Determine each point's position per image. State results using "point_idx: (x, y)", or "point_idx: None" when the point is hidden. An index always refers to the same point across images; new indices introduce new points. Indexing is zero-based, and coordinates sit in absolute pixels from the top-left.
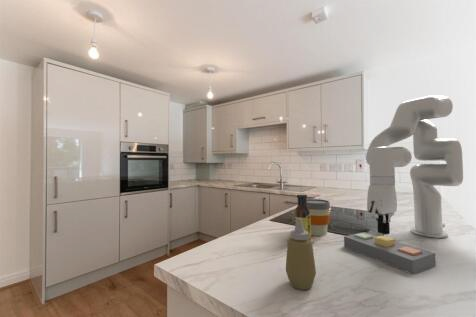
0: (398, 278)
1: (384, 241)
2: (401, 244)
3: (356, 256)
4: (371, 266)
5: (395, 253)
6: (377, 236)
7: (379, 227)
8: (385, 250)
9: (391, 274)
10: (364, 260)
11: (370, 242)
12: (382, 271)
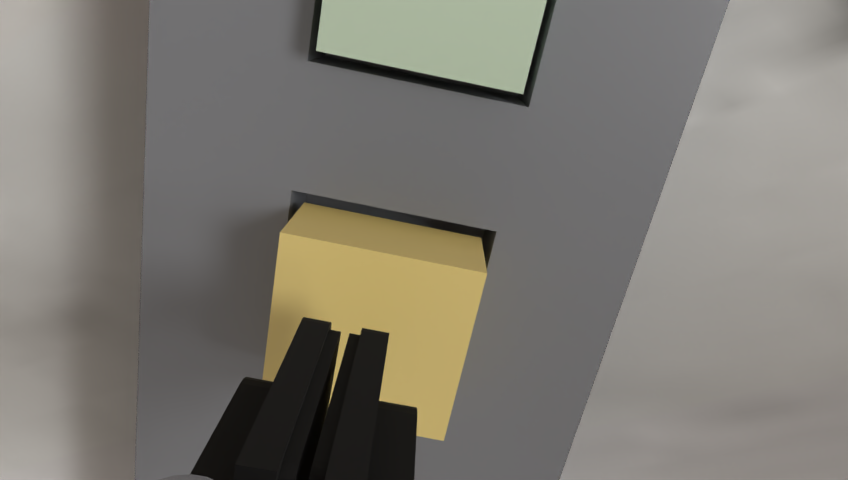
0: (22, 461)
1: (265, 370)
2: (517, 431)
3: (87, 63)
4: (15, 270)
5: (161, 473)
6: (658, 105)
7: (225, 427)
8: (152, 388)
9: (35, 415)
10: (73, 171)
11: (266, 163)
12: (17, 360)
